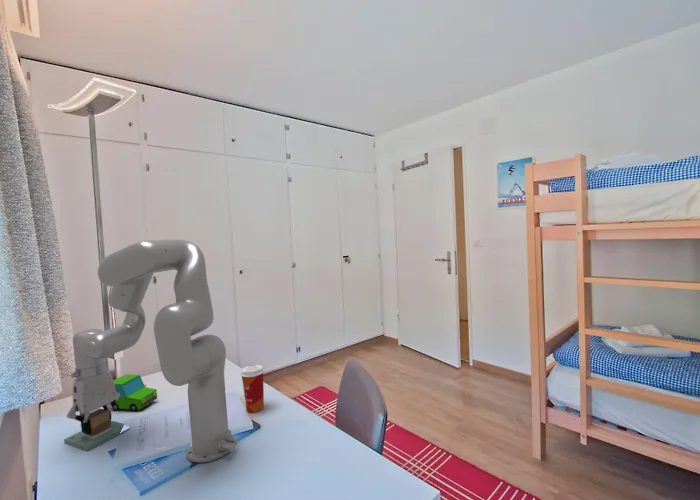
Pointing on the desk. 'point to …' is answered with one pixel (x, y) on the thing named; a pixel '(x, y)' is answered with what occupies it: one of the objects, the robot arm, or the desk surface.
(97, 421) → the walnut cube
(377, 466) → the desk surface
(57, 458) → the desk surface
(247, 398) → the paper cup
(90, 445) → the baseplate
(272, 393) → the desk surface
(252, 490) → the desk surface
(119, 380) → the toy car
